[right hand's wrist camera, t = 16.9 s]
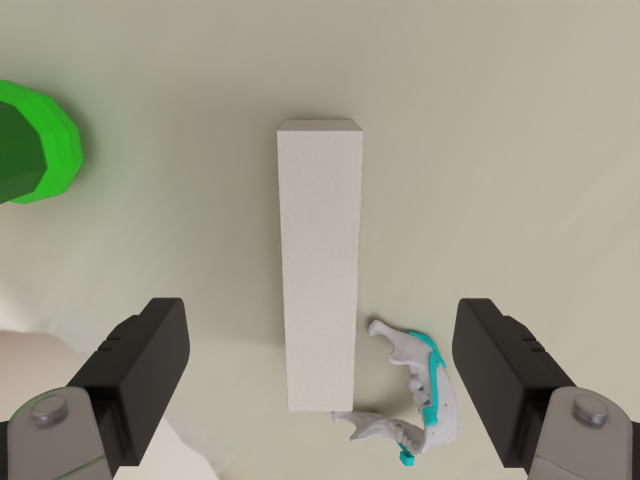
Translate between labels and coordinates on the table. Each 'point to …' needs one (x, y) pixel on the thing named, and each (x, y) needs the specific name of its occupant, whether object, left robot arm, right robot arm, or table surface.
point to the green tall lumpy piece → (35, 145)
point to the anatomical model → (428, 394)
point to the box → (320, 258)
